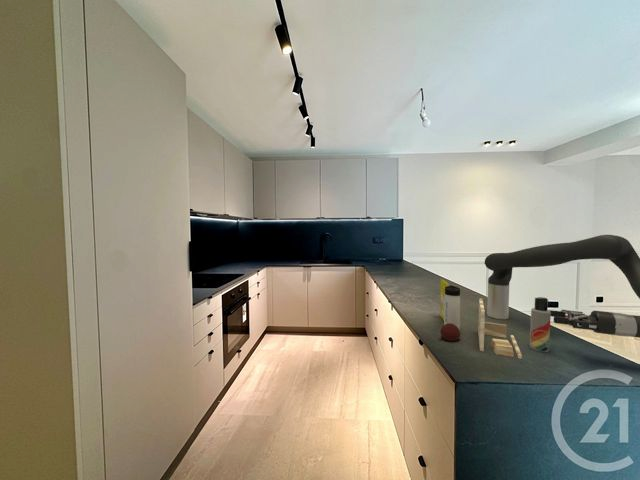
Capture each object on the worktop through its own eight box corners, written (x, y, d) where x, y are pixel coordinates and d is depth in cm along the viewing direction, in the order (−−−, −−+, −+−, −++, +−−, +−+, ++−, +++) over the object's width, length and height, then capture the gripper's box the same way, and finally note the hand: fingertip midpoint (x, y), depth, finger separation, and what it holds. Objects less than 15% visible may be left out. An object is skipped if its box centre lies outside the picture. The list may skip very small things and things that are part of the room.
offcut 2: (491, 346, 103) (491, 342, 102) (507, 348, 101) (508, 344, 101) (495, 354, 97) (496, 349, 96) (513, 356, 95) (513, 352, 95)
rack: (478, 334, 117) (479, 298, 116) (513, 340, 110) (514, 302, 110) (479, 353, 99) (481, 310, 99) (521, 361, 93) (523, 316, 93)
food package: (449, 326, 126) (450, 284, 125) (446, 326, 126) (447, 284, 125) (441, 315, 141) (442, 278, 140) (439, 315, 141) (439, 278, 140)
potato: (437, 341, 110) (437, 324, 109) (443, 335, 116) (444, 319, 116) (456, 346, 105) (457, 329, 104) (462, 339, 111) (462, 323, 111)
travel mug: (458, 328, 123) (459, 285, 122) (460, 334, 117) (461, 289, 116) (443, 327, 125) (444, 284, 124) (444, 332, 119) (445, 288, 118)
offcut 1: (492, 342, 102) (492, 338, 102) (507, 344, 100) (507, 340, 100) (496, 349, 97) (496, 345, 97) (512, 351, 95) (512, 347, 95)
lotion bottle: (544, 354, 97) (546, 300, 96) (526, 347, 102) (528, 296, 101) (551, 350, 100) (554, 298, 99) (534, 344, 105) (536, 294, 104)
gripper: (603, 307, 97) (546, 301, 105) (623, 319, 84) (556, 311, 92) (602, 327, 97) (545, 320, 105) (622, 342, 85) (555, 332, 93)
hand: (550, 316), depth 99 cm, fingers open, 8 cm apart
